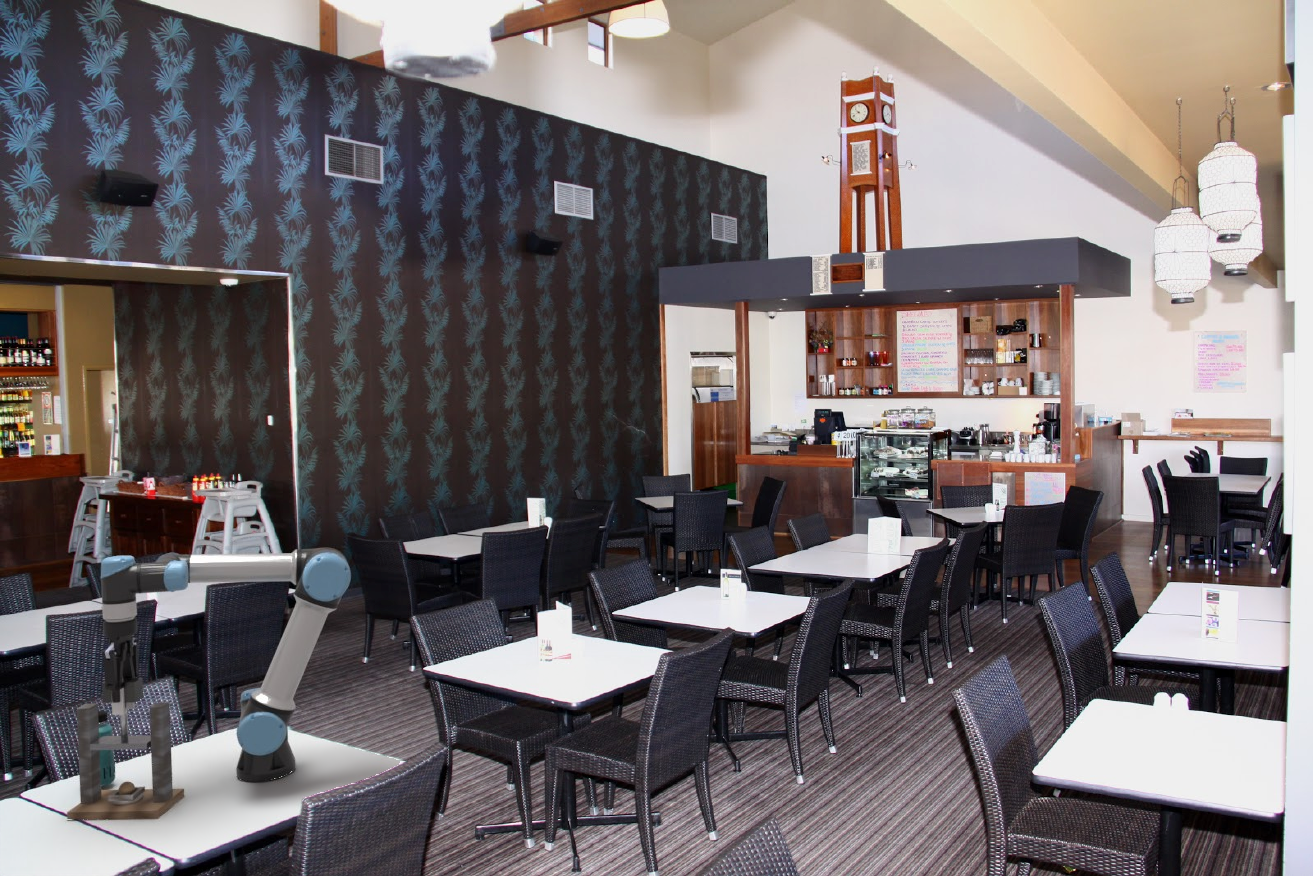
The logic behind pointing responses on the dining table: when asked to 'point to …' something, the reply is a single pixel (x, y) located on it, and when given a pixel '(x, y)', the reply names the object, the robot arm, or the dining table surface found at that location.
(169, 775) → the press frame
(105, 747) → the crusher
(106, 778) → the beverage bottle
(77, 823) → the dining table surface
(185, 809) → the dining table surface
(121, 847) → the dining table surface
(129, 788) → the walnut
